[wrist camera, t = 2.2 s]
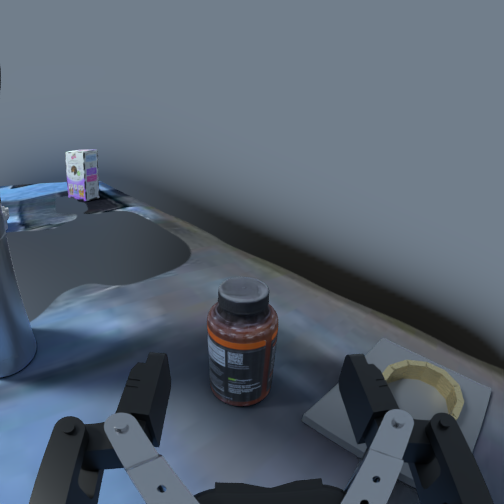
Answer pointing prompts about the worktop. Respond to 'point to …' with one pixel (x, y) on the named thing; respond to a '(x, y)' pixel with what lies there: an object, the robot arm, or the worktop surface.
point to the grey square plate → (401, 403)
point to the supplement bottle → (242, 341)
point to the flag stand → (5, 216)
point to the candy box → (82, 174)
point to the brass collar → (429, 381)
